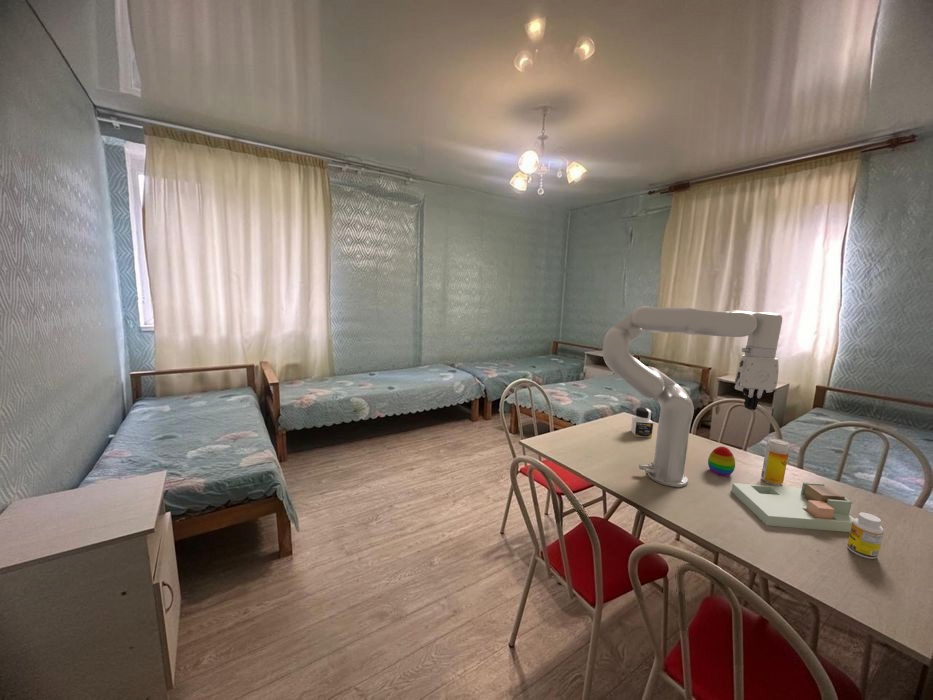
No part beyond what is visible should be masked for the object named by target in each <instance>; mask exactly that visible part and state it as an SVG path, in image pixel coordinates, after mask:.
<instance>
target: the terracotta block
mask: <svg viewBox="0 0 933 700" xmlns="http://www.w3.org/2000/svg"><path fill="white" fill-rule="evenodd" d="M806 512H807V513H809V514H810V515H811V516H812V517H814V518H821V519H832V518H833V513H834V509H833V508H832V507H831V506H829V505H828V504H826V503H825V502H823V501H814V500H808V503H807V508H806Z"/></svg>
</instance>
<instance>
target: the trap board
mask: <svg viewBox="0 0 933 700" xmlns="http://www.w3.org/2000/svg"><path fill="white" fill-rule="evenodd" d="M807 484H808V485H822V486H827V485H826V484H825V483H816V482H805V481H804V482H802V486H801V487H796V486H795V487H793V486H792V487H790V486H781V485H763V484H751V483H738V482H737V483H736V482H733V483H732V484H731V492H732V493H733V495H734V496H736V497H737V498H738V499H739V500H740V501H741V502H742V503H743V504H744V505H745V507H747V508H748V509H749V510H750V511H751V512H752V513H754V515H755V516H757V518H758V519H760V520H761V522H763V524H765V525H766V526H769V527H770V526H772V527H780V528H781V527H783V528H794V529H795V528H796V529H807V530H820V531H832V532H843V533H844V532H845V533H850V531H851V526H852V522H853V519H855V517H853V516H852V515H850V511H851V508H852V503H853V502H852V501H851V500H849V499H848V498H846V497H845V499H844V501H843V500H829V499H828V500H827V504H828V505H829V506H831V507H832V508H833V509H834V513H833V518H832V519H821V518H814V517H812V516H811V515H810V514H809V513H807V512H806V508H807V503H808V500H807V499H805V498H804V496H805V491H806V486H807Z"/></svg>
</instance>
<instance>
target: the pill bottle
mask: <svg viewBox="0 0 933 700" xmlns="http://www.w3.org/2000/svg"><path fill="white" fill-rule="evenodd" d="M765 446H766V447H765V452H764V457H763V464H762V469H761V470H762V471H761V477H760V478H761V479H762V481H764V482H765V483H767V484H769V485H771V486H781V485H782V484H783V483H784V480H785V475H786V469H787V464H788V459H789V454H790V448H791V447H790V444H789V442H788V441H786V440H784V439H780V438H775V437H770V438H769V439H768V440H767V442H766V445H765Z"/></svg>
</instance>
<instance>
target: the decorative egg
mask: <svg viewBox="0 0 933 700" xmlns="http://www.w3.org/2000/svg"><path fill="white" fill-rule="evenodd" d="M707 464H708V468H709V470H710V471H711V473H713V474H714V475H716V476H719V477H730V475H732V473H734V471H735V469H736V460H735V456H734V453H732V451H731V449H729V448H728V447H726V446H717V447H716V448H715V449H713V450H712V451H711V452H710V454H709V456H708V459H707Z"/></svg>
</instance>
